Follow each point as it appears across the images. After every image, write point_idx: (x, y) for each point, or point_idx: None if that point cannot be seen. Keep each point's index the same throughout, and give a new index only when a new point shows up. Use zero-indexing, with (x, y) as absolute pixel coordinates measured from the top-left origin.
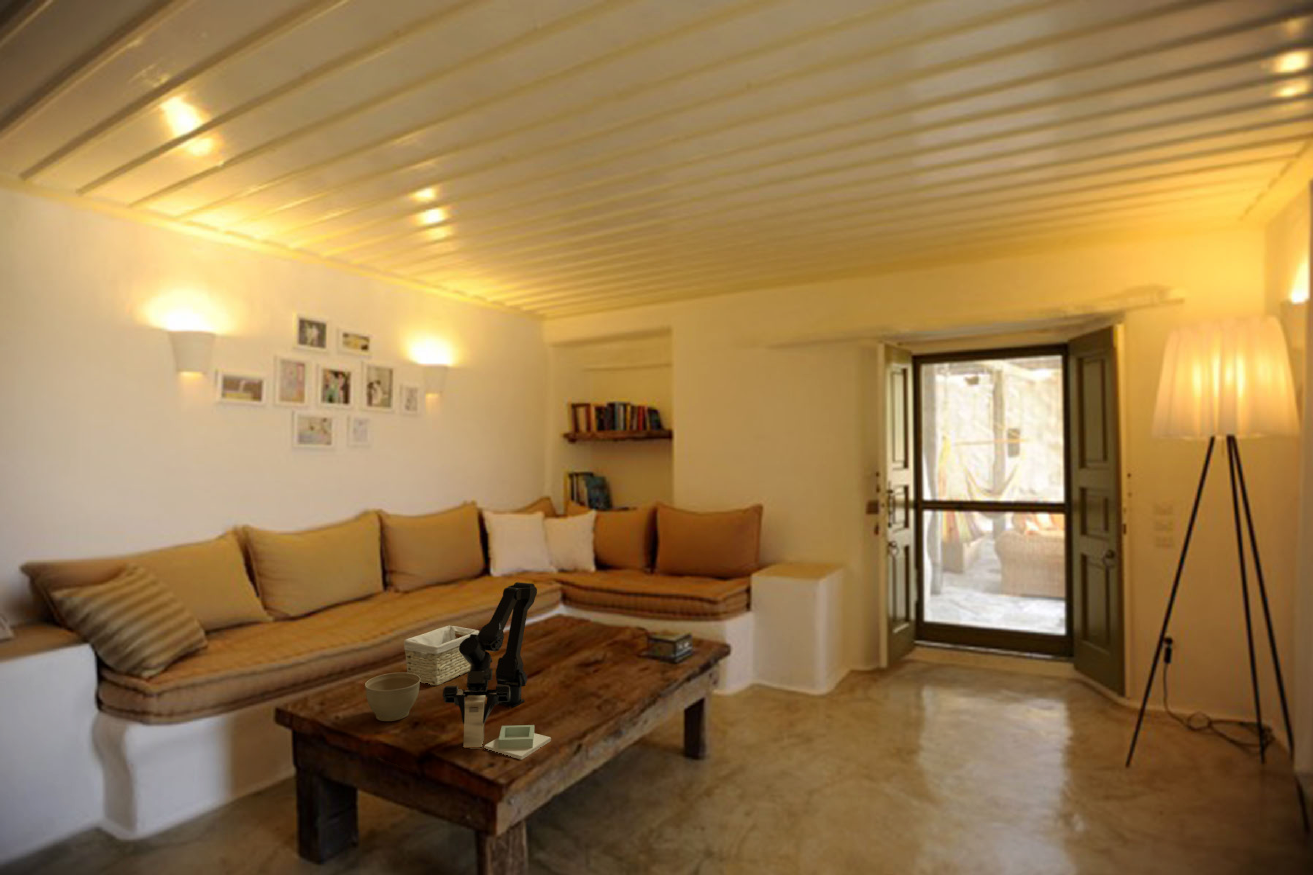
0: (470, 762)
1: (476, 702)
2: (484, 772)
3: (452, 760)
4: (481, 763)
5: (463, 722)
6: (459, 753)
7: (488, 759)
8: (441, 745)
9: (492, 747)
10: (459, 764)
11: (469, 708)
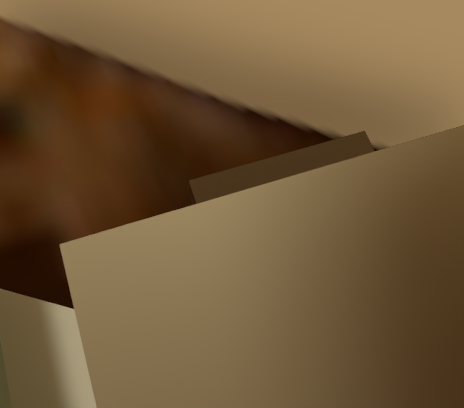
0: (147, 127)
1: (277, 188)
2: (16, 40)
3: (266, 129)
4: (73, 128)
5: None
6: None
7: (44, 185)
8: None
9: (50, 309)
10: (201, 95)
11: (358, 140)
